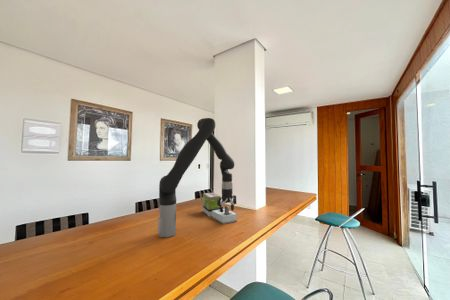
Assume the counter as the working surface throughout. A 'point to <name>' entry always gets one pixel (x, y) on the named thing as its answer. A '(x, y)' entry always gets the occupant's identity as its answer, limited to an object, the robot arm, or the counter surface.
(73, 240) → the counter surface
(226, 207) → the pin
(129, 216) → the counter surface
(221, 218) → the bore block
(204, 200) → the tea box
